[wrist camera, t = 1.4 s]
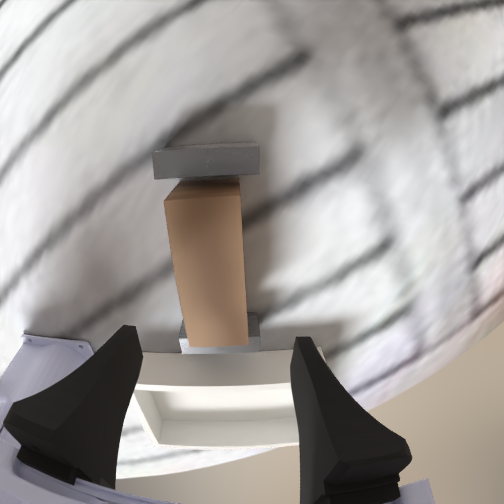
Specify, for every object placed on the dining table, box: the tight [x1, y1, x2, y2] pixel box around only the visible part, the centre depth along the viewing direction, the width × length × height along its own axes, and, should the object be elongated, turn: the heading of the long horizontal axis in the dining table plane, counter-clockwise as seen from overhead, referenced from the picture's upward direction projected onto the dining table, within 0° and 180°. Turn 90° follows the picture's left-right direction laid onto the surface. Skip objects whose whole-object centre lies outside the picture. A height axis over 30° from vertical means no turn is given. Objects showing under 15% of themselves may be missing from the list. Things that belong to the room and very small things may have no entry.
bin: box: [130, 347, 326, 450], centre depth 27 cm, size 18×12×4 cm, turn 91°
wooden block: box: [164, 178, 249, 347], centre depth 20 cm, size 4×10×5 cm, turn 2°
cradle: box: [152, 142, 260, 354], centre depth 20 cm, size 6×15×3 cm, turn 1°
